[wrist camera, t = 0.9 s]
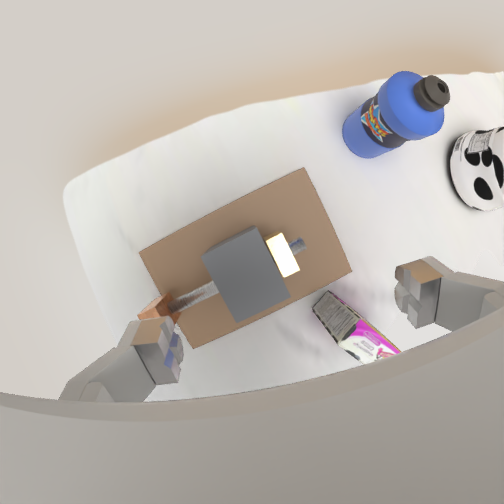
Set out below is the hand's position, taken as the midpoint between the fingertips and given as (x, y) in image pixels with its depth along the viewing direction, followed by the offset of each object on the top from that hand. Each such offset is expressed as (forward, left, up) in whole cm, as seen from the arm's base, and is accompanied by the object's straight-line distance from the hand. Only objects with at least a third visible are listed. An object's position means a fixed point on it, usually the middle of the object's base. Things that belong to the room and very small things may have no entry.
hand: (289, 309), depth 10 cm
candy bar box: (-21, -8, -40) cm, 46 cm away
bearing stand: (-4, +3, -40) cm, 40 cm away
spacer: (-4, -2, -35) cm, 35 cm away
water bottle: (+7, -27, -40) cm, 49 cm away
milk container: (-9, -50, -40) cm, 65 cm away
